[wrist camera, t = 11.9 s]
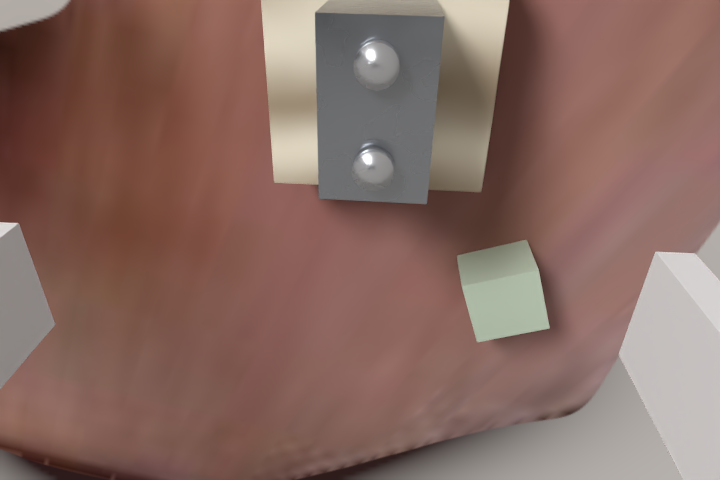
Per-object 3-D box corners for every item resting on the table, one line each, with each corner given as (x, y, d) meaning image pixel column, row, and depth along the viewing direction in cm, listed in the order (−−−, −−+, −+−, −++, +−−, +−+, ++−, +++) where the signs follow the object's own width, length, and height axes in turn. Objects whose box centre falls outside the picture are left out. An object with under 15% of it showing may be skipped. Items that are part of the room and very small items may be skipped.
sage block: (456, 254, 38) (461, 286, 35) (526, 238, 37) (538, 269, 34) (471, 307, 41) (477, 342, 37) (536, 293, 40) (549, 328, 36)
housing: (333, 151, 30) (316, 206, 24) (332, -5, 26) (311, 15, 20) (423, 156, 29) (427, 212, 24) (436, -2, 25) (445, 19, 19)
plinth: (263, -72, 29) (238, -72, 24) (517, -67, 28) (537, -66, 24) (279, 162, 36) (261, 194, 31) (482, 171, 35) (493, 205, 31)
